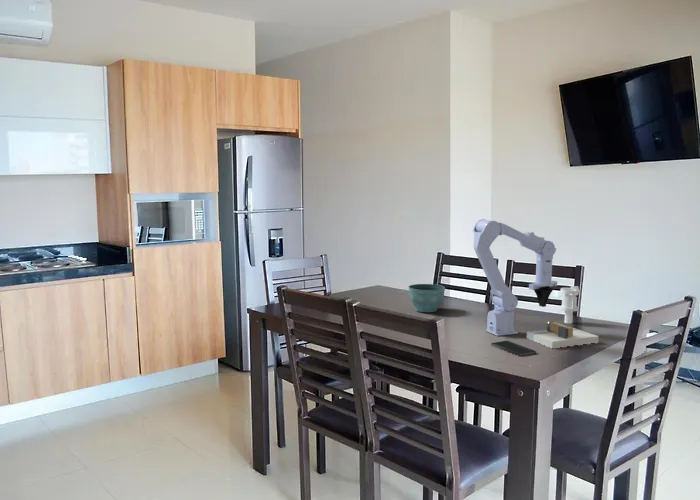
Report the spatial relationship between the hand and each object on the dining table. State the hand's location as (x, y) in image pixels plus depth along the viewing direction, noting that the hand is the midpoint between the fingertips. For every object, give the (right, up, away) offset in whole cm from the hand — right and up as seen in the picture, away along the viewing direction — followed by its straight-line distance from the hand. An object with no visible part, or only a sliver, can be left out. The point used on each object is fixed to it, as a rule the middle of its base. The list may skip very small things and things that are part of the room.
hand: (542, 306), depth 221 cm
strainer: (+15, -8, +13) cm, 21 cm away
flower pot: (-40, -6, +35) cm, 54 cm away
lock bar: (+1, -8, -14) cm, 16 cm away
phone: (-18, -13, -24) cm, 33 cm away
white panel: (+2, -11, -14) cm, 18 cm away
